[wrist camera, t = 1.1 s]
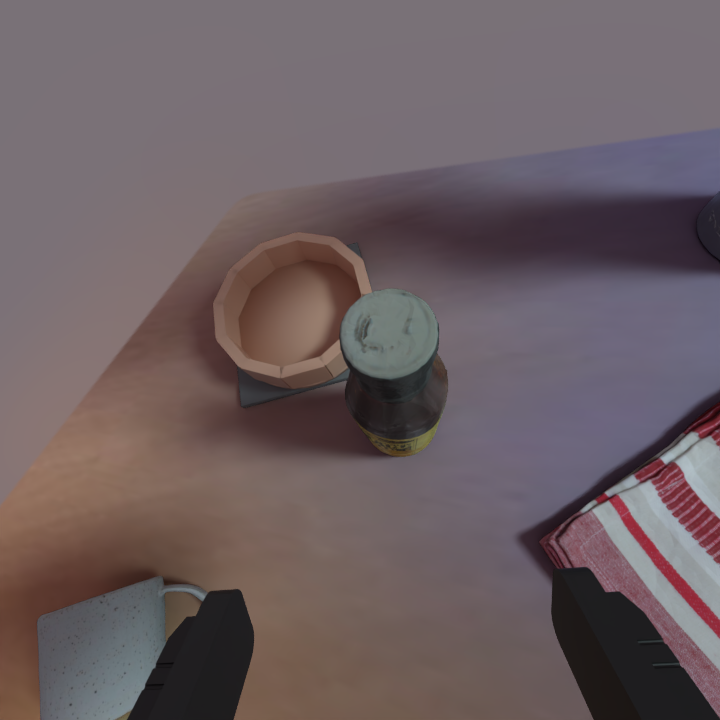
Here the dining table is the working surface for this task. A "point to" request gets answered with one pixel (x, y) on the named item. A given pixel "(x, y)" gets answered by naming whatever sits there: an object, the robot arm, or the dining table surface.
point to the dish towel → (661, 546)
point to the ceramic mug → (102, 651)
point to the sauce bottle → (394, 370)
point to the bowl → (289, 309)
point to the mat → (264, 392)
